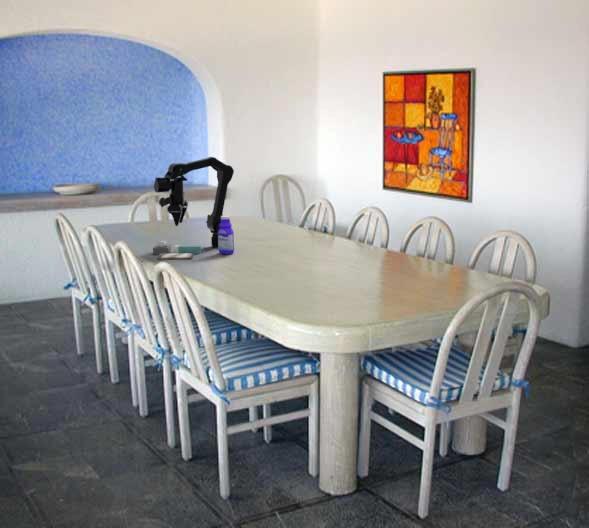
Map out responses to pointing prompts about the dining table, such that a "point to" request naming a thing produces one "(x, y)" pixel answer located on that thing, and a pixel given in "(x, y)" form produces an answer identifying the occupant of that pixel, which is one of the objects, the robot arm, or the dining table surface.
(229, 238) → the bottle
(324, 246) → the dining table surface
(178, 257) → the wooden picture frame
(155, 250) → the button base
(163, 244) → the button
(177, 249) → the teal and white bar
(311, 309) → the dining table surface
